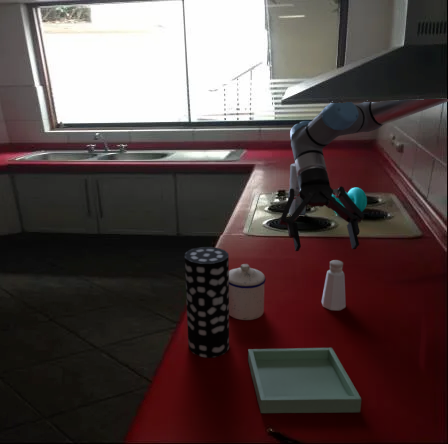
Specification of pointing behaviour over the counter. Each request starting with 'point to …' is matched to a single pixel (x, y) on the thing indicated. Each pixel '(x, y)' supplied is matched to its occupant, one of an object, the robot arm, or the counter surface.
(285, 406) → the tray
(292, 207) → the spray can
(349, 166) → the counter surface
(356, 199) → the turquoise dumbbell
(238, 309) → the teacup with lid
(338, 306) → the salt shaker
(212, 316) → the white-spotted black cylinder
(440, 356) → the counter surface
